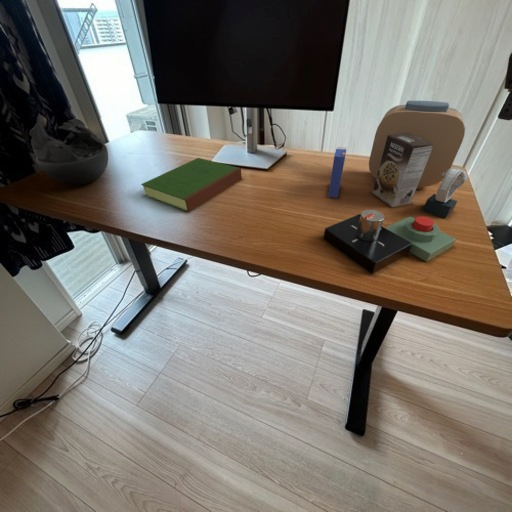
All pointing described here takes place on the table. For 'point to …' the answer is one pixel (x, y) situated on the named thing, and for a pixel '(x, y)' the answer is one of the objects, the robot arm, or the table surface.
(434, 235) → the button base
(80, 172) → the gray filled bowl
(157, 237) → the table surface
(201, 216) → the table surface
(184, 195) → the hardcover book
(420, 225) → the button
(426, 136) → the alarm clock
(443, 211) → the watch
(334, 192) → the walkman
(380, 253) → the dial panel
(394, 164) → the coffee box
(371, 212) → the knob
